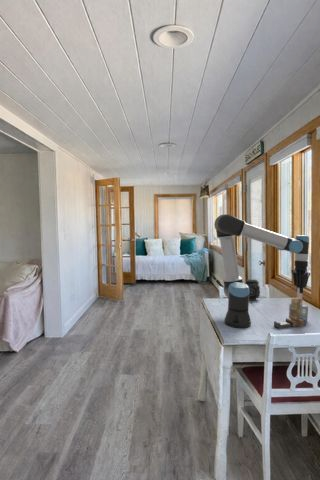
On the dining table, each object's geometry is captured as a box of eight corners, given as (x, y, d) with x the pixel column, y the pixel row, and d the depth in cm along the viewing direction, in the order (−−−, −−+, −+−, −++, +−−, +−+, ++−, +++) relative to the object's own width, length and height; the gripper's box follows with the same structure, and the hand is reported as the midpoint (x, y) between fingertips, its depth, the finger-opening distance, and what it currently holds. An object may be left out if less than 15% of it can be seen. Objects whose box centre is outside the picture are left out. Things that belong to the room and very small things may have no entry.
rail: (278, 328, 177) (279, 323, 176) (273, 326, 180) (274, 320, 180) (305, 325, 184) (306, 319, 184) (300, 323, 188) (300, 317, 187)
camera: (260, 301, 235) (260, 282, 234) (245, 300, 237) (246, 281, 236) (258, 298, 245) (259, 279, 244) (244, 297, 247) (245, 278, 246)
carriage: (293, 326, 179) (294, 301, 178) (285, 323, 185) (286, 298, 184) (303, 325, 182) (305, 300, 181) (296, 322, 188) (297, 297, 187)
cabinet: (298, 321, 190) (299, 307, 189) (288, 318, 197) (289, 304, 196) (307, 320, 192) (308, 306, 192) (297, 317, 199) (298, 303, 199)
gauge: (298, 310, 191) (299, 300, 191) (293, 308, 195) (293, 298, 195) (304, 309, 193) (304, 299, 193) (298, 307, 197) (299, 297, 197)
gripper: (314, 261, 187) (312, 300, 189) (297, 258, 200) (296, 295, 201) (305, 261, 185) (303, 301, 186) (288, 259, 197) (286, 295, 198)
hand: (299, 297), depth 194 cm, fingers closed
